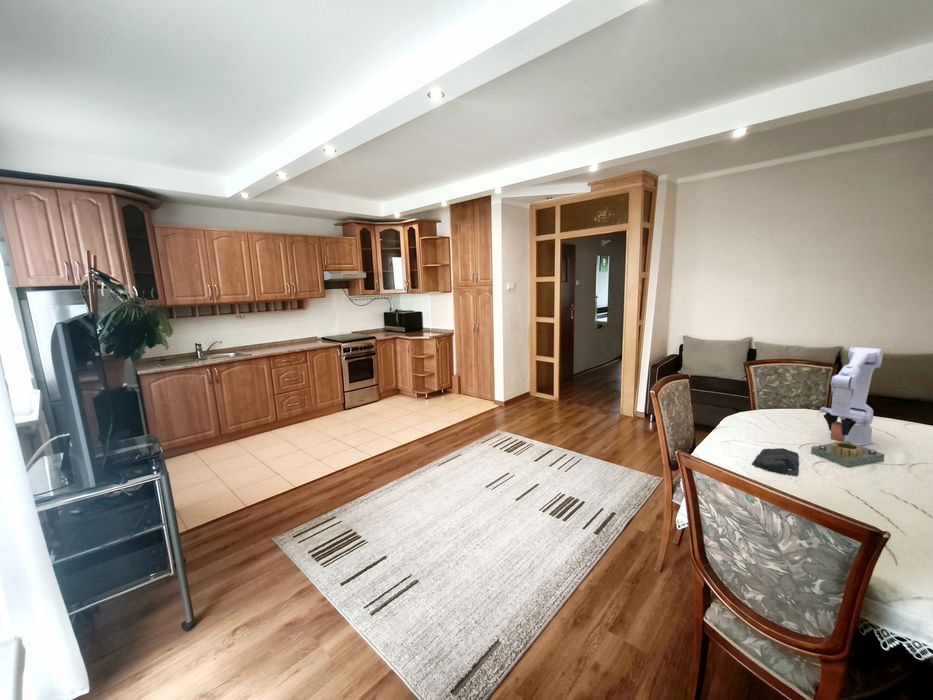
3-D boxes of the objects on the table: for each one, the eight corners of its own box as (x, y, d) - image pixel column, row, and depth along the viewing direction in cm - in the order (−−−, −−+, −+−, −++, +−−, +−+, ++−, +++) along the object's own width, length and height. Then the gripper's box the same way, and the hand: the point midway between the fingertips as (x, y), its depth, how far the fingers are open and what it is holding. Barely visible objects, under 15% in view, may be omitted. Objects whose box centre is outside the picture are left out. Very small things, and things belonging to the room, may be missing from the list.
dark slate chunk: (805, 459, 160) (806, 449, 160) (796, 479, 146) (797, 468, 145) (761, 449, 172) (761, 440, 171) (749, 467, 158) (749, 457, 157)
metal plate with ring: (844, 447, 167) (845, 436, 166) (883, 461, 153) (885, 449, 152) (811, 453, 164) (811, 442, 163) (847, 467, 151) (848, 456, 150)
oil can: (836, 436, 163) (838, 419, 162) (847, 440, 159) (849, 422, 157) (827, 437, 163) (829, 420, 161) (838, 441, 158) (840, 423, 157)
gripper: (815, 399, 164) (812, 427, 167) (853, 409, 150) (850, 440, 153) (828, 397, 165) (826, 425, 168) (867, 406, 151) (864, 438, 153)
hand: (838, 432), depth 160 cm, fingers closed on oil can, 4 cm apart
